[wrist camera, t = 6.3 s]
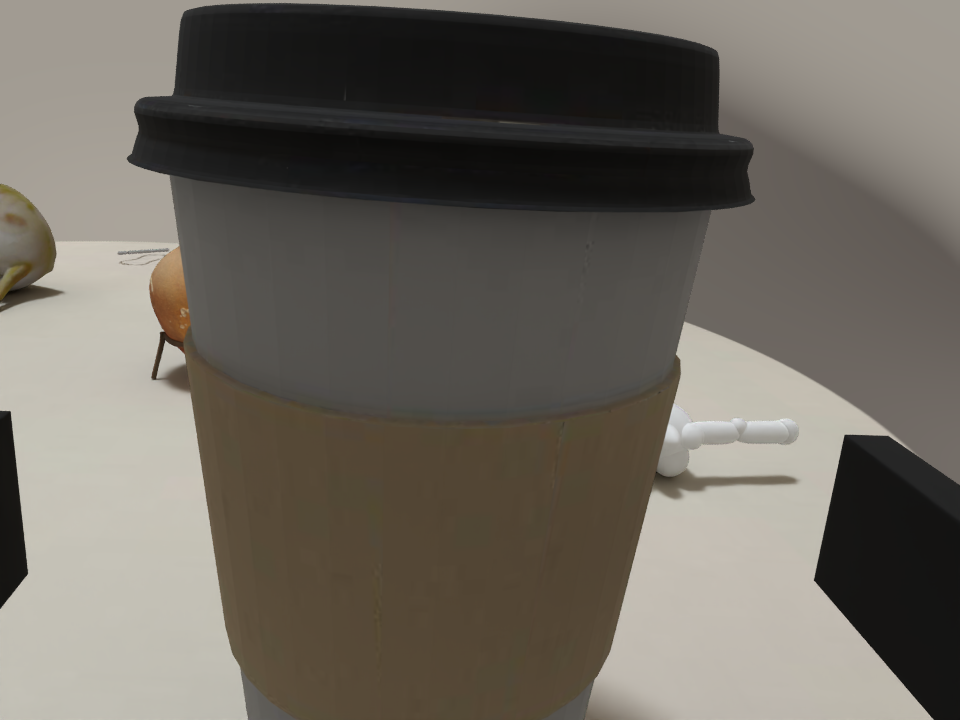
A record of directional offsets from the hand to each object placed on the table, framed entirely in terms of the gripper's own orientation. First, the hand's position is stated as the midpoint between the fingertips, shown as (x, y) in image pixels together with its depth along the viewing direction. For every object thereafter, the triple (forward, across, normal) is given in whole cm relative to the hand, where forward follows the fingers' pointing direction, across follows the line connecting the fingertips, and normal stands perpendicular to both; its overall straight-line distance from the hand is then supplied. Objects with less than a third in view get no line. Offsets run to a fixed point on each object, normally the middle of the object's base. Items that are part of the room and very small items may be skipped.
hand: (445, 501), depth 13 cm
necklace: (+58, -22, -8) cm, 63 cm away
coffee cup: (+2, 0, -8) cm, 8 cm away
